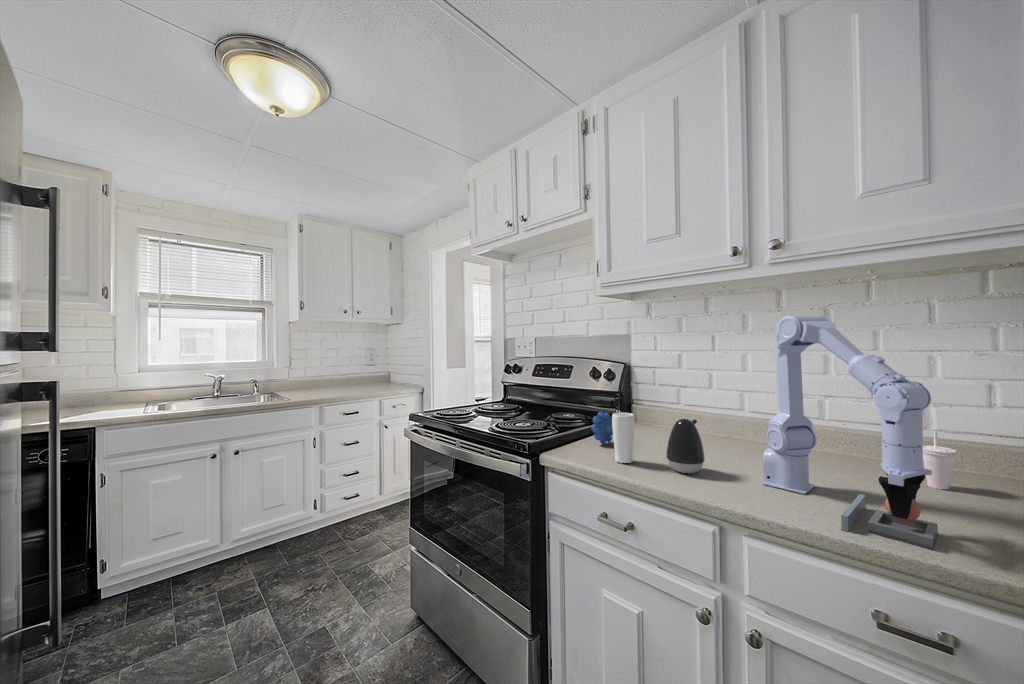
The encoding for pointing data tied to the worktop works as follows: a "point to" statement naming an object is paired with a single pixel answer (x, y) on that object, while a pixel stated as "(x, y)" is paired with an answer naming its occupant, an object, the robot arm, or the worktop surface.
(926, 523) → the tray
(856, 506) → the low wall
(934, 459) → the smoothie
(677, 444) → the black egg-shaped device
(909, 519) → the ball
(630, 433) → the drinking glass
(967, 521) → the worktop surface
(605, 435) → the grapes
